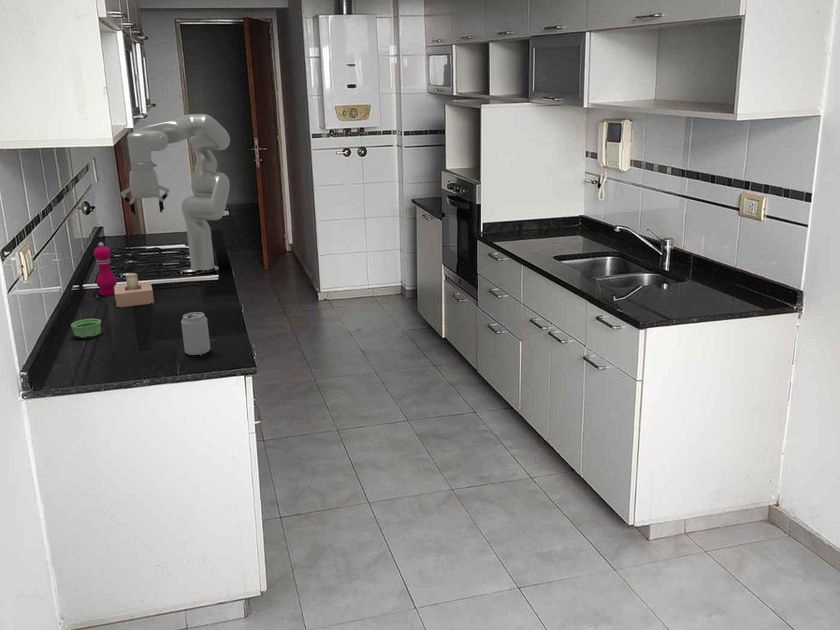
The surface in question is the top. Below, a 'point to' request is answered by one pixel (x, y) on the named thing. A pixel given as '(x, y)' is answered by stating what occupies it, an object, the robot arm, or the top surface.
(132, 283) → the peg
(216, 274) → the top surface
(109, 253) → the pepper mill
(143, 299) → the socket
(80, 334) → the ramekin
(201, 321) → the can
